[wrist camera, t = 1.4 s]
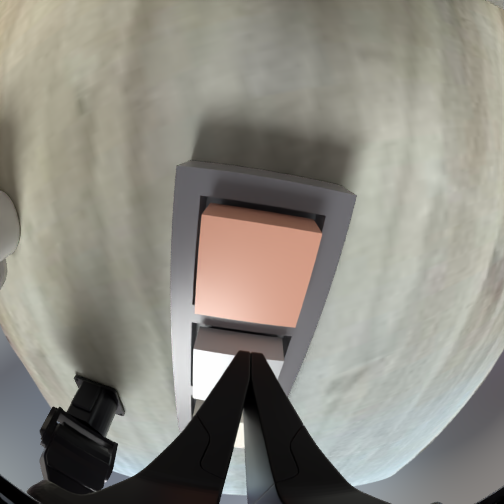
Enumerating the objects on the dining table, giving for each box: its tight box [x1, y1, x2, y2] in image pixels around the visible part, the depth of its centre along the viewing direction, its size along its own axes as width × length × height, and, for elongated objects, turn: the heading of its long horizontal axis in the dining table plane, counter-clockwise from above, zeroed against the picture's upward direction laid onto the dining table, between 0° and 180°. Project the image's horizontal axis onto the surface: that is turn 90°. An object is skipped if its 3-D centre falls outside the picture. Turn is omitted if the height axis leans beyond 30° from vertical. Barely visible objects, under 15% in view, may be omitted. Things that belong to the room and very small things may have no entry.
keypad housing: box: [171, 160, 357, 432], centre depth 21 cm, size 28×10×3 cm, turn 171°
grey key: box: [193, 326, 284, 400], centre depth 19 cm, size 6×6×2 cm
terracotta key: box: [195, 203, 322, 328], centre depth 15 cm, size 6×6×2 cm
